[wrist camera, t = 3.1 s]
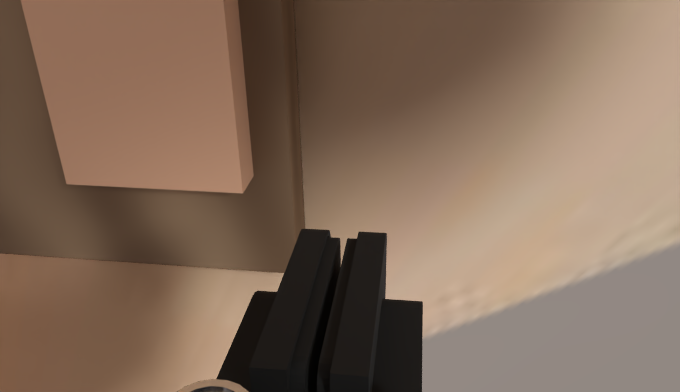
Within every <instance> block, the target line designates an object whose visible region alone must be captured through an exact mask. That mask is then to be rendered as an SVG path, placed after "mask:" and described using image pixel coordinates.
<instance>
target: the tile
mask: <svg viewBox="0 0 680 392" xmlns="http://www.w3.org/2000/svg"><path fill="white" fill-rule="evenodd" d="M21 4H22V8H23V12H24V16H25V20H26V24H27V28H28V32H29V36H30V40H31V44H32V48H33V52H34V56H35V60H36V64H37V68H38V72H39V76H40V80H41V84H42V88H43V92H44V96H45V100H46V104H47V108H48V112H49V116H50V120H51V124H52V128H53V132H54V136H55V140H56V144H57V148H58V152H59V156H60V160H61V164H62V168H63V172H64V176H65V180H66V184H72V185H91V186H110V187H129V188H148V189H168V190H187V191H206V192H225V193H243V192H244V191H245V189H246V188H247V186H248V184H249V183H250V181H251V180H252V178H253V176H254V174H253V163H252V152H251V141H250V130H249V119H248V108H247V97H246V86H245V74H244V63H243V52H242V41H241V30H240V19H239V8H238V0H21Z"/></svg>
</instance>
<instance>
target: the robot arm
mask: <svg viewBox="0 0 680 392" xmlns="http://www.w3.org/2000/svg"><path fill="white" fill-rule="evenodd" d="M386 247H387V234H386V233H373V232H359V233H358V237H357V239H349V238H348V239H347V243H346V247H345V251H344V256H343V260H342V264H341V258H340V238H331V236H330V231H329V230H316V229H301V231H300V233H299V236H298V238H297V241H296V244H295V246H294V249H293V252H292V254H291V257H290V260H289V262H288V265H287V268H286V270H285V273H284V275H283V278H282V281H281V283H280V286H279V289H278V291H277V292H267V291H257V292H255V293H254V295H253V297H252V299H251V301H250V303H249V306H248V308H247V310H246V312H245V315H244V317H243V319H242V322H241V324H240V326H239V329H238V331H237V333H236V335H235V338H234V340H233V342H232V345H231V347H230V349H229V351H228V354H227V356H226V358H225V361H224V363H223V365H222V367H221V370H220V372H219V374H218V377H217V379H211V380H204V381H198V382H196V383H193V384H190V385H187V386H185V387H183V388H182V389H180V390H179V391H177V392H422V315H423V303H422V302H421V301H406V300H390V299H385V288H386Z"/></svg>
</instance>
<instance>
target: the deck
mask: <svg viewBox="0 0 680 392" xmlns="http://www.w3.org/2000/svg"><path fill="white" fill-rule="evenodd" d="M238 8H239V19H240V30H241V41H242V52H243V63H244V74H245V86H246V97H247V108H248V119H249V130H250V141H251V152H252V163H253V174H254V176H253V178H252V180H251V181H250V183H249V184H248V186H247V188H246V189H245V191H244V192H243V193H225V192H206V191H187V190H168V189H148V188H129V187H110V186H91V185H72V184H66V180H65V176H64V172H63V168H62V164H61V160H60V156H59V152H58V148H57V144H56V140H55V136H54V132H53V128H52V124H51V120H50V116H49V112H48V108H47V104H46V100H45V96H44V92H43V88H42V84H41V80H40V76H39V72H38V68H37V64H36V60H35V56H34V52H33V48H32V44H31V40H30V36H29V32H28V28H27V24H26V20H25V16H24V12H23V8H22V4H21V0H0V253H3V254H18V255H32V256H47V257H61V258H76V259H90V260H104V261H119V262H133V263H148V264H162V265H177V266H191V267H205V268H220V269H234V270H249V271H263V272H278V273H285V270H286V268H287V265H288V262H289V260H290V257H291V254H292V252H293V249H294V246H295V244H296V241H297V238H298V236H299V233H300V231H301V229H305V220H304V199H303V179H302V159H301V139H300V119H299V98H298V78H297V58H296V38H295V18H294V0H238Z"/></svg>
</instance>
